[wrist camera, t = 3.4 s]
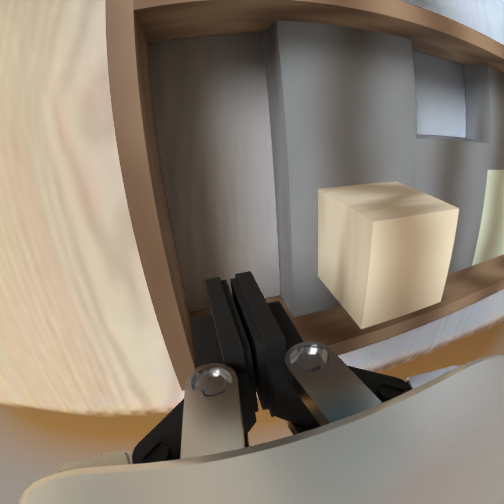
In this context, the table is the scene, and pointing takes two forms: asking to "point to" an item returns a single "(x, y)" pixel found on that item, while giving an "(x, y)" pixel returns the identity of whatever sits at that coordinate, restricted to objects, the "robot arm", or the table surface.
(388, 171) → the box
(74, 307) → the table surface
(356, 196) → the block
